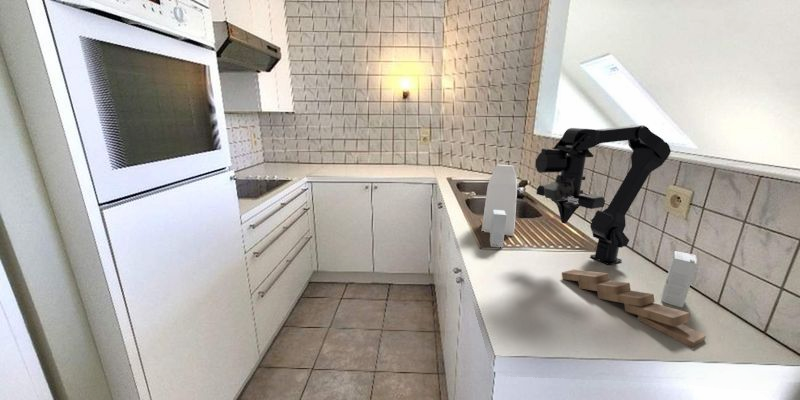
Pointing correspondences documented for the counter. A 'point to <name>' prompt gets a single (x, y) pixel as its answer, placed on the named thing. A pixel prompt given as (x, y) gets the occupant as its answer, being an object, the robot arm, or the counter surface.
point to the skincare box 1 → (498, 228)
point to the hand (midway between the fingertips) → (563, 223)
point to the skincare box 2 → (679, 278)
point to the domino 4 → (660, 313)
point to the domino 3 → (628, 297)
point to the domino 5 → (676, 332)
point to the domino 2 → (607, 287)
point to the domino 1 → (585, 276)
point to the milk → (501, 197)
